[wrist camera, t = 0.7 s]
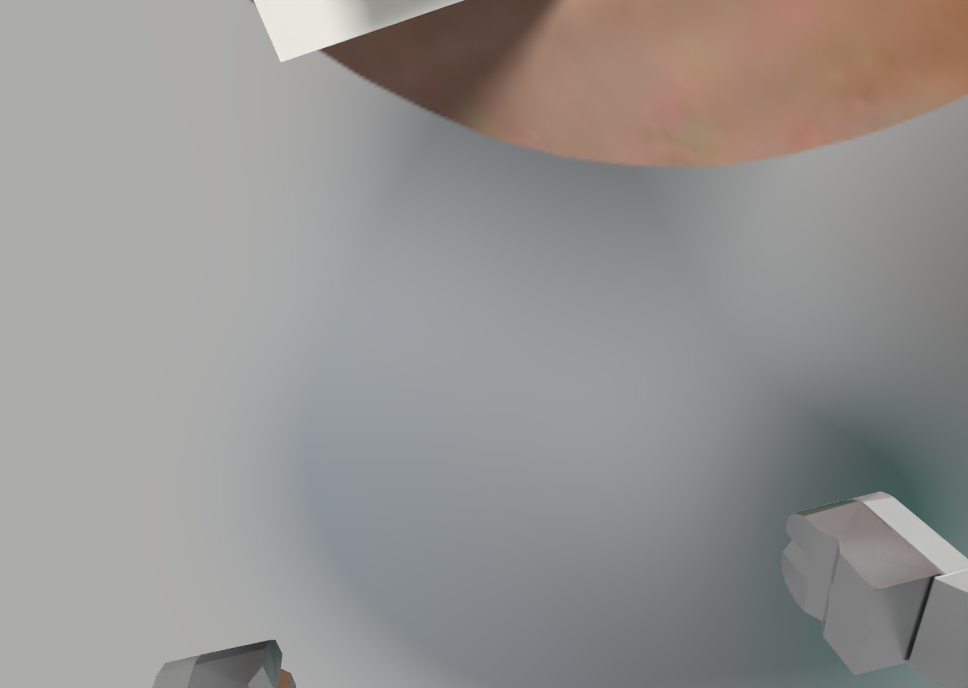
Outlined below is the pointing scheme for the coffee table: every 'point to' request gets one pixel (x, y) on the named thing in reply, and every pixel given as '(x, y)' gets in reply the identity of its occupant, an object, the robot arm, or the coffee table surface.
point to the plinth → (332, 20)
